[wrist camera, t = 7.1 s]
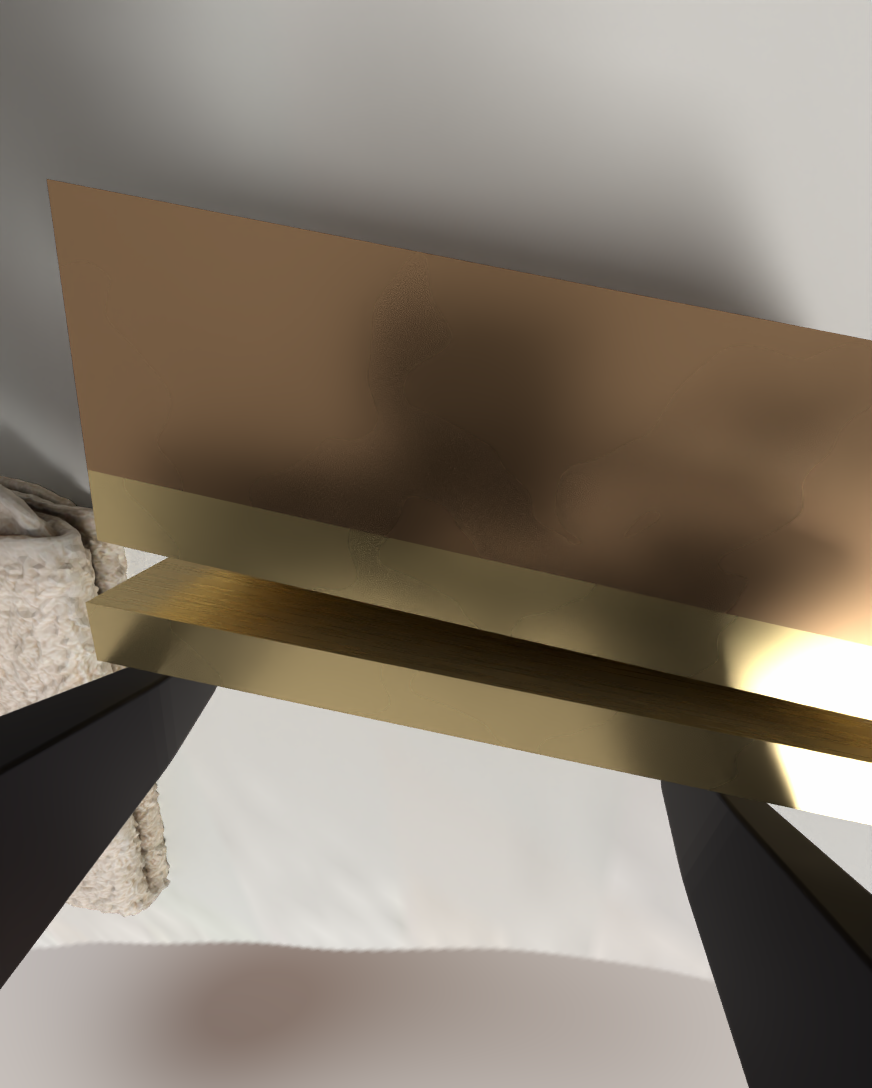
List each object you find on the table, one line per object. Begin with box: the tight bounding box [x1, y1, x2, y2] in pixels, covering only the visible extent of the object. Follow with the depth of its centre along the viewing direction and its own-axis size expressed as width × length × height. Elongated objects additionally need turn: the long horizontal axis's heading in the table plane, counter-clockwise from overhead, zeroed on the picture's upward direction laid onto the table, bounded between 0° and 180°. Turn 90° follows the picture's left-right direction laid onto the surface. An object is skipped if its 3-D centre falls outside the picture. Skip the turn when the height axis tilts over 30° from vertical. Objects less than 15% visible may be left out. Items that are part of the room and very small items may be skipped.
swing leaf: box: [85, 557, 872, 825], centre depth 8 cm, size 15×3×6 cm, turn 81°
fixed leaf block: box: [47, 179, 872, 720], centre depth 7 cm, size 12×4×5 cm, turn 79°
